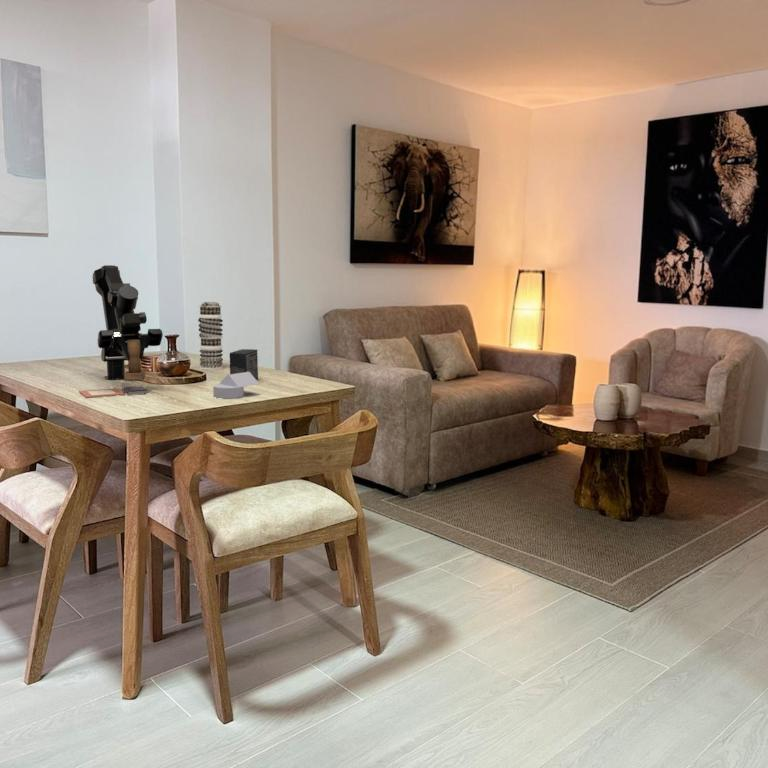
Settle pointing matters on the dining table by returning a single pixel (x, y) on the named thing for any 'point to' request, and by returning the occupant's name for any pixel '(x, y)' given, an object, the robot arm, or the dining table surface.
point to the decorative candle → (210, 336)
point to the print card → (101, 393)
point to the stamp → (134, 362)
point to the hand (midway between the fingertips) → (135, 359)
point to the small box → (244, 362)
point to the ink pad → (135, 390)
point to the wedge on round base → (234, 385)
